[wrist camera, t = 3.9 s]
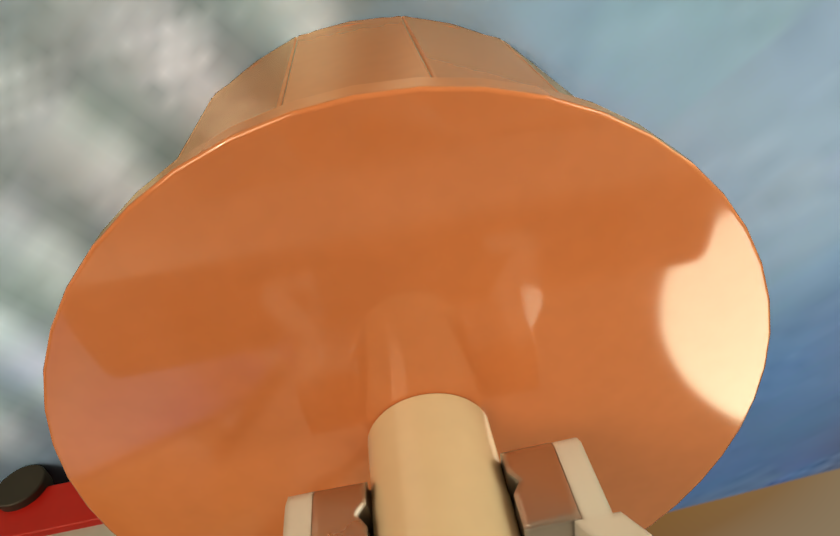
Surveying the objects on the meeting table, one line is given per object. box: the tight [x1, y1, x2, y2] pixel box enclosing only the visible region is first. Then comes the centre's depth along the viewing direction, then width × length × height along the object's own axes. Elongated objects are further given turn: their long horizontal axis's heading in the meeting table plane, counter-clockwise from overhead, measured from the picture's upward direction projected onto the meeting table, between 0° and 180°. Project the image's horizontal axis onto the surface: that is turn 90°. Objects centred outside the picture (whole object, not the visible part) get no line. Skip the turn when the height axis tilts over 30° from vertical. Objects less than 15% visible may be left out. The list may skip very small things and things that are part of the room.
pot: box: [177, 16, 574, 159], centre depth 16 cm, size 14×14×8 cm
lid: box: [43, 77, 770, 536], centre depth 11 cm, size 15×15×5 cm
